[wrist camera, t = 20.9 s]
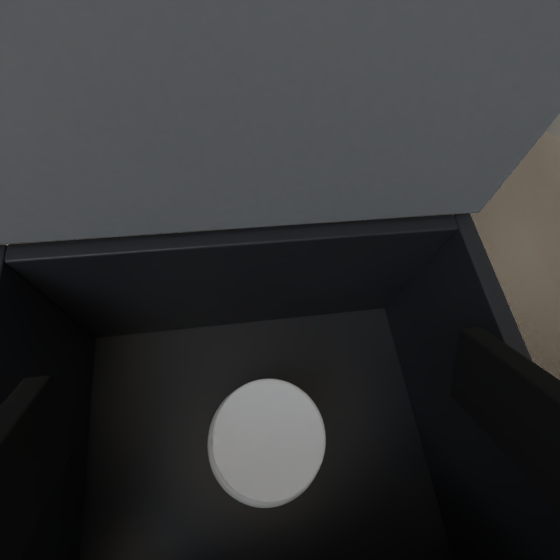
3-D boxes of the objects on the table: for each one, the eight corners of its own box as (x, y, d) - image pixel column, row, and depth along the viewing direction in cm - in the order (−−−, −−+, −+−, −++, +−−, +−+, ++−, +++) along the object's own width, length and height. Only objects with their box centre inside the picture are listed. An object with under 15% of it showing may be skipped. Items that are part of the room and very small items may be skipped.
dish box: (466, 579, 19) (674, 693, 10) (60, 667, 17) (-173, 934, 7) (388, 300, 26) (470, 212, 16) (87, 330, 23) (-18, 244, 14)
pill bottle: (277, 384, 22) (295, 344, 14) (320, 462, 20) (366, 465, 13) (201, 426, 21) (177, 407, 13) (241, 514, 19) (239, 552, 11)
